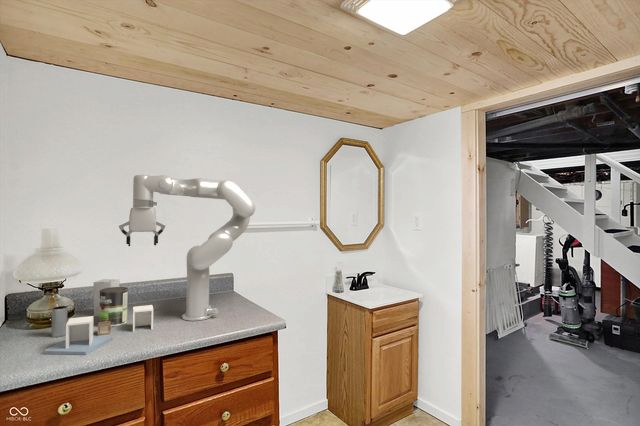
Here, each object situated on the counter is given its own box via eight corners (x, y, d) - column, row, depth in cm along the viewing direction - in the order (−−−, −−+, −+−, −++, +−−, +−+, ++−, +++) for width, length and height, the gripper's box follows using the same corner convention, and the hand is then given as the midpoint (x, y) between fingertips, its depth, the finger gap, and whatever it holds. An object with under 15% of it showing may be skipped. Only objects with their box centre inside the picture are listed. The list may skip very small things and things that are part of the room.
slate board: (112, 339, 125) (112, 336, 125) (85, 354, 111) (85, 351, 111) (74, 338, 125) (74, 335, 125) (42, 353, 111) (42, 350, 111)
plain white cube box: (132, 326, 139) (133, 306, 139) (152, 324, 142) (152, 304, 142) (132, 331, 133) (133, 311, 133) (152, 329, 136) (153, 308, 136)
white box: (68, 341, 119) (69, 318, 119) (93, 338, 123) (93, 315, 123) (65, 348, 113) (66, 324, 113) (91, 345, 116) (91, 321, 116)
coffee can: (111, 328, 136) (111, 292, 136) (92, 325, 140) (93, 290, 140) (133, 321, 146) (133, 287, 146) (115, 318, 149) (116, 285, 150)
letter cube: (98, 332, 132) (98, 322, 132) (110, 331, 133) (110, 320, 134) (97, 336, 128) (97, 325, 128) (110, 334, 130) (110, 323, 130)
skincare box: (120, 313, 157) (121, 279, 157) (110, 317, 150) (110, 282, 150) (103, 312, 158) (103, 278, 158) (92, 316, 151) (93, 281, 151)
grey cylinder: (54, 338, 125) (55, 309, 125) (49, 335, 127) (49, 307, 127) (69, 334, 129) (69, 307, 129) (63, 332, 131) (64, 305, 131)
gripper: (164, 205, 151) (164, 244, 151) (119, 204, 143) (118, 245, 143) (166, 205, 145) (165, 245, 145) (118, 203, 137) (118, 247, 136)
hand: (142, 245), depth 144 cm, fingers open, 9 cm apart
